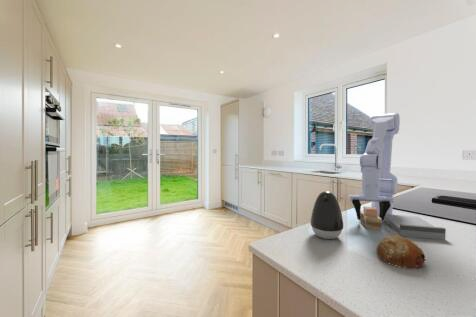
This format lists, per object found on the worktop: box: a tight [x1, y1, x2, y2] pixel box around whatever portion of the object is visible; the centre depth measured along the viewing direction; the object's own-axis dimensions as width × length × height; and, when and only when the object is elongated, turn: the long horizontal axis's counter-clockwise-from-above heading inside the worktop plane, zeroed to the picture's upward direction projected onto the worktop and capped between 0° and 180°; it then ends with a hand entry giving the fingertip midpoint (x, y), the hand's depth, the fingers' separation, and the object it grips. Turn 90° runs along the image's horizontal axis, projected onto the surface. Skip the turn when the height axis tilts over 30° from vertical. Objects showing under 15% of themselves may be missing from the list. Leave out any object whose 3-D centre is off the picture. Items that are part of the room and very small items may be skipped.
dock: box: [384, 214, 447, 241], centre depth 80 cm, size 18×12×4 cm, turn 163°
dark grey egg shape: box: [310, 190, 344, 240], centre depth 73 cm, size 10×10×15 cm
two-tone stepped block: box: [359, 210, 383, 230], centre depth 84 cm, size 10×5×4 cm, turn 163°
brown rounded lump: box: [376, 234, 427, 270], centre depth 58 cm, size 10×10×8 cm
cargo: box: [362, 206, 377, 216], centre depth 83 cm, size 4×4×2 cm
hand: (369, 220), depth 84 cm, fingers open, 7 cm apart
